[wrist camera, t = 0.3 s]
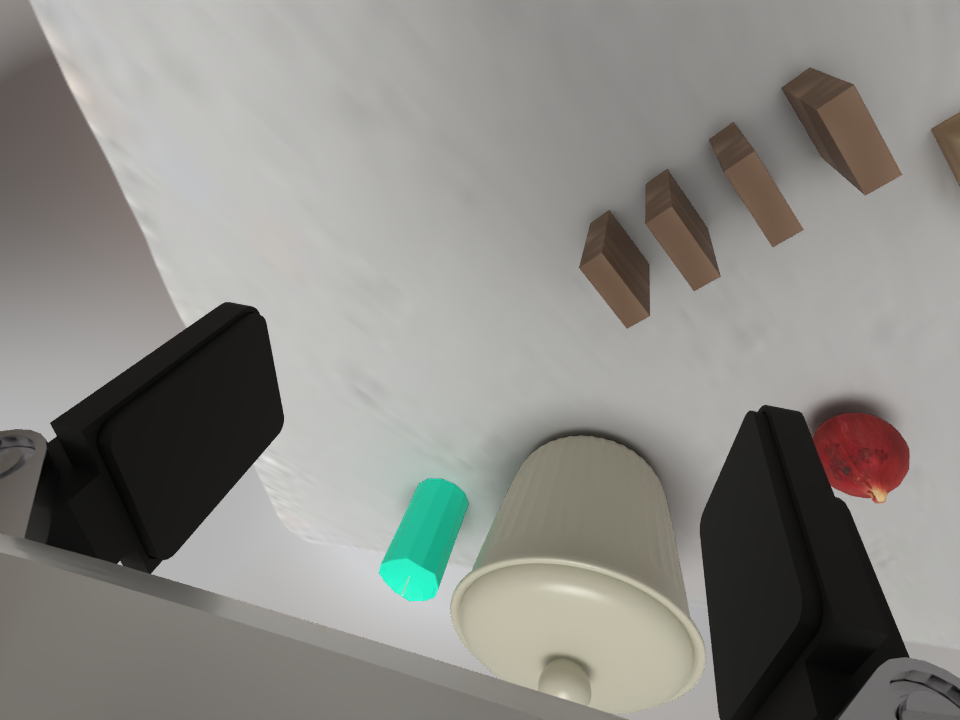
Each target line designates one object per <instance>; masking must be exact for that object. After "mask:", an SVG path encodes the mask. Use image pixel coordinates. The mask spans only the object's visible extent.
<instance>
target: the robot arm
mask: <svg viewBox="0 0 960 720" xmlns="http://www.w3.org/2000/svg"><path fill="white" fill-rule="evenodd" d="M283 423H284V414H283V409H282V403H281V398H280V393H279V387H278V382H277V377H276V371H275V366H274V361H273V356H272V350H271V345H270V340H269V334H268V329H267V324H266V320H265V319H264V317H263V316H261V315H260V313H259V312H258V310H257V309H256V308H254V307H252V306H247V305H241V304H236V303H231V302H225V303H223V304H221V305H219V306H218V307H217V308H215V309H214V310H212V311H211V312H209V313H208V314H207V315H205V316H204V317H202V318H201V319H199V320H198V321H196V322H195V323H194V324H192V325H191V326H189V327H188V328H186V329H185V330H183V331H182V332H181V333H179V334H178V335H176V336H175V337H173V338H172V339H170V340H169V341H168V342H166V343H165V344H163V345H162V346H160V347H159V348H157V349H156V350H155V351H153V352H152V353H150V354H149V355H147V356H146V357H144V358H143V359H142V360H140V361H139V362H137V363H136V364H134V365H133V366H131V367H130V368H129V369H127V370H126V371H125V372H123V373H121V374H120V375H119V376H117V377H116V378H114V379H113V380H111V381H110V382H108V383H107V384H106V385H104V386H103V387H101V388H100V389H98V390H97V391H95V392H94V393H93V394H91V395H90V396H88V397H87V398H85V399H84V400H82V401H81V402H80V403H79V404H77V405H75V406H74V407H72V408H71V409H69V410H68V411H67V412H65V413H64V414H62V415H61V416H59V417H58V418H56V419H55V420H54V421H52V422H51V423H50V424H51V426H52V428H53V429H54V431H55V433H56V435H57V437H56V438H54V439H53V440H51V441H50V442H49V443H48V442H47V441H46V439H45V438H44V437H43V436H42V435H41V434H40V433H37V432H35V431H32V430H22V429H15V430H6V431H0V720H628V719H625V718H622V717H619V716H616V715H613V714H610V713H607V712H604V711H600V710H597V709H594V708H591V707H588V706H585V705H582V704H579V703H575V702H572V701H569V700H566V699H562V698H559V697H556V696H553V695H549V694H546V693H543V692H540V691H536V690H533V689H530V688H526V687H523V686H520V685H517V684H513V683H510V682H507V681H504V680H500V679H497V678H494V677H491V676H487V675H484V674H481V673H478V672H474V671H471V670H468V669H465V668H461V667H458V666H455V665H451V664H448V663H445V662H442V661H439V660H435V659H432V658H429V657H425V656H422V655H419V654H416V653H412V652H409V651H406V650H402V649H399V648H396V647H393V646H389V645H386V644H383V643H379V642H376V641H373V640H369V639H366V638H363V637H359V636H356V635H353V634H349V633H346V632H343V631H339V630H336V629H333V628H329V627H326V626H323V625H319V624H316V623H313V622H310V621H306V620H303V619H300V618H296V617H293V616H290V615H286V614H283V613H280V612H276V611H273V610H269V609H266V608H263V607H260V606H256V605H253V604H250V603H246V602H243V601H240V600H236V599H233V598H229V597H226V596H223V595H219V594H216V593H212V592H209V591H206V590H202V589H199V588H195V587H192V586H189V585H186V584H182V583H179V582H175V581H172V580H169V579H165V578H162V577H158V576H155V575H152V574H151V573H152V572H153V571H154V569H155V568H156V567H157V566H158V565H159V564H160V563H161V561H162V560H166V559H169V558H170V557H172V556H173V555H174V554H175V553H176V552H177V551H178V550H179V549H180V547H181V546H182V545H183V544H184V543H185V542H186V540H187V539H188V538H189V537H190V536H191V535H192V534H193V532H194V531H195V530H196V529H197V528H198V527H199V525H200V524H201V523H202V522H203V521H204V519H206V517H207V516H208V515H209V514H210V513H211V512H212V511H213V509H214V508H215V507H216V506H217V505H218V504H219V502H220V501H221V500H222V499H223V498H224V497H225V495H226V494H227V493H228V492H229V491H230V490H231V489H232V487H233V486H234V485H235V484H236V483H237V482H238V480H239V479H240V478H241V477H242V476H243V475H244V474H245V472H246V471H247V470H248V469H249V468H250V467H251V465H252V464H253V463H254V462H255V461H256V460H257V459H258V457H259V456H260V455H261V454H262V453H263V452H264V450H265V449H266V448H267V447H268V446H269V445H270V444H271V442H272V441H273V440H274V439H275V438H276V437H277V435H278V434H279V433H280V431H281V429H282V427H283ZM700 539H701V548H702V558H703V568H704V577H705V587H706V596H707V606H708V614H709V615H708V616H709V625H710V633H711V644H712V653H713V664H714V673H715V682H716V692H717V702H718V711H719V717H720V720H960V678H958V677H956V676H955V675H953V674H952V673H950V672H949V671H947V670H945V669H942V668H940V667H938V666H936V665H933V664H931V663H929V662H926V661H923V660H917V659H912V658H910V657H909V655H908V653H907V650H906V648H905V645H904V643H903V640H902V638H901V635H900V633H899V630H898V628H897V626H896V623H895V621H894V618H893V616H892V613H891V611H890V608H889V606H888V603H887V601H886V599H885V596H884V594H883V591H882V589H881V586H880V584H879V581H878V579H877V577H876V574H875V572H874V569H873V567H872V564H871V562H870V559H869V557H868V554H867V552H866V550H865V547H864V545H863V542H862V540H861V537H860V535H859V532H858V530H857V527H856V525H855V523H854V520H853V518H852V515H851V513H850V510H849V509H848V507H847V505H846V503H845V502H844V501H842V500H841V499H840V498H837V497H835V496H834V493H833V491H832V488H831V485H830V483H829V480H828V478H827V475H826V473H825V470H824V467H823V465H822V462H821V460H820V457H819V455H818V452H817V450H816V447H815V444H814V442H813V439H812V437H811V434H810V432H809V429H808V426H807V424H806V421H805V419H804V416H803V415H802V413H801V412H799V411H794V410H789V409H784V408H778V407H773V406H768V405H764V406H762V407H761V408H760V409H759V411H758V412H755V411H749V412H748V413H747V414H746V416H745V418H744V420H743V422H742V424H741V427H740V429H739V431H738V434H737V436H736V438H735V440H734V443H733V445H732V447H731V450H730V452H729V454H728V456H727V459H726V461H725V463H724V466H723V468H722V470H721V472H720V475H719V477H718V479H717V482H716V484H715V486H714V488H713V491H712V493H711V495H710V498H709V500H708V502H707V504H706V507H705V509H704V511H703V514H702V517H701V523H700ZM119 561H121V563H122V565H123V566H121V565H118V564H117V563H118V562H119Z"/></svg>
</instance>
